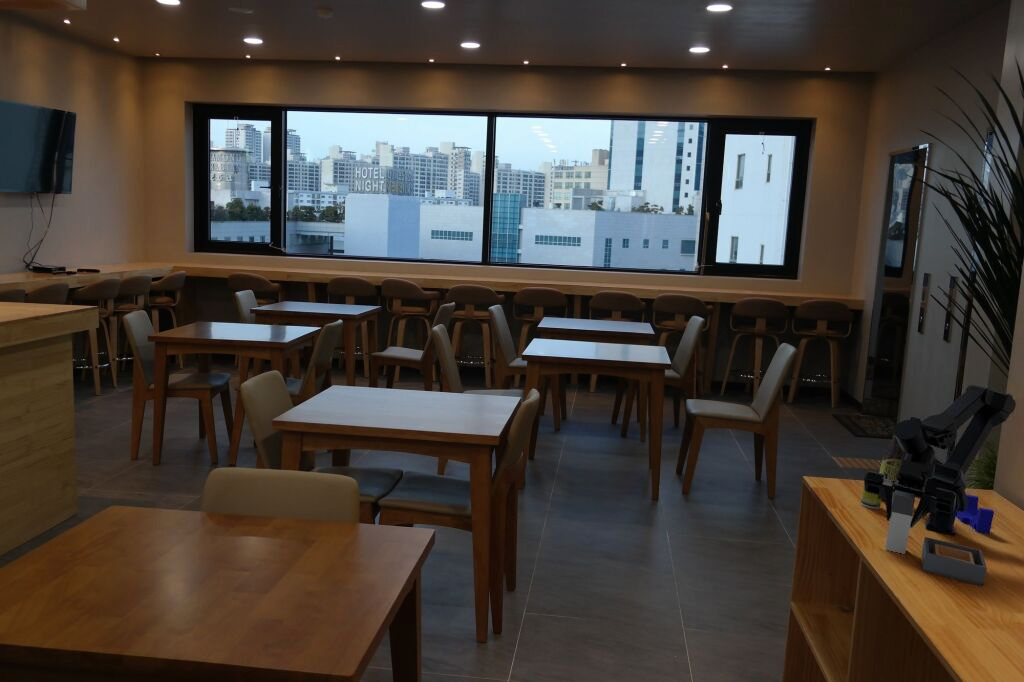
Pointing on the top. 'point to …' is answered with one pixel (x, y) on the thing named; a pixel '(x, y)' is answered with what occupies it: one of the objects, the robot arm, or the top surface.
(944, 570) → the walled box
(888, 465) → the sauce bottle
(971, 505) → the cable clip
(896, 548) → the plug
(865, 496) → the supplement bottle
